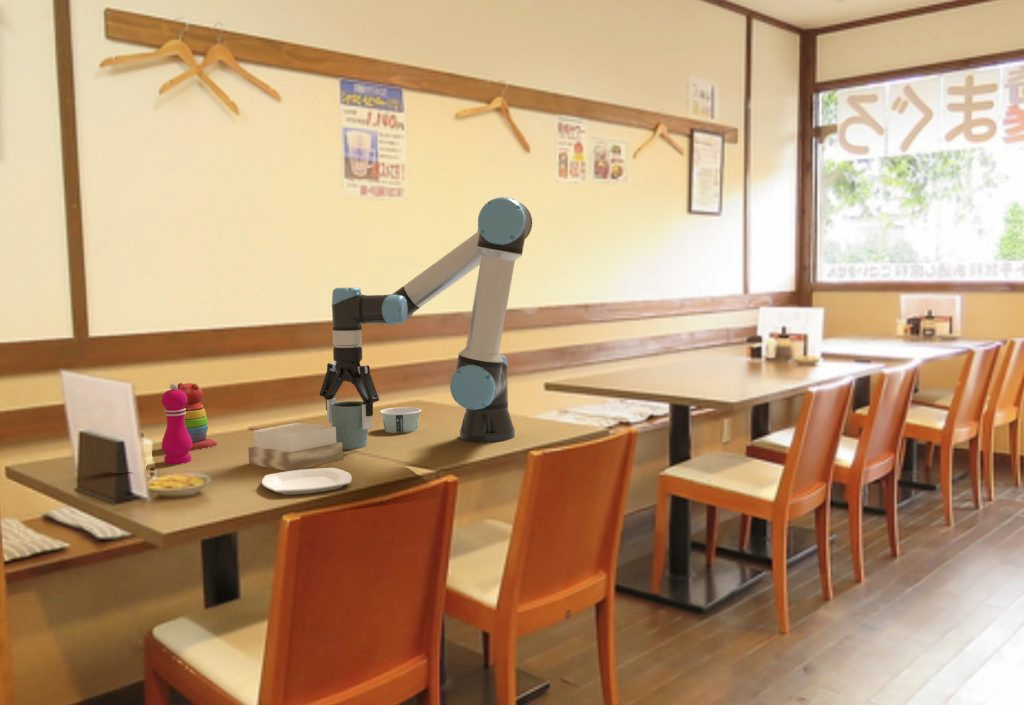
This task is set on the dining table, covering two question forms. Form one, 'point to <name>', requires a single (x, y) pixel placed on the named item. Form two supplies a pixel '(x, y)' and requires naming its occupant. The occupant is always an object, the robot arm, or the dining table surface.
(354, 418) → the blue-grey cup
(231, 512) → the dining table surface
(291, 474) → the plate
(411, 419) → the food container
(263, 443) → the tower top
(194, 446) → the stacking bear
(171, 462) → the pepper mill
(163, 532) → the dining table surface
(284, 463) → the tower base
